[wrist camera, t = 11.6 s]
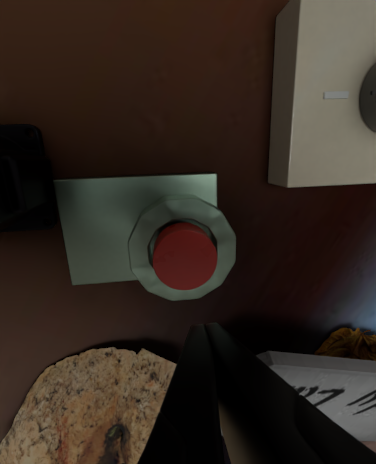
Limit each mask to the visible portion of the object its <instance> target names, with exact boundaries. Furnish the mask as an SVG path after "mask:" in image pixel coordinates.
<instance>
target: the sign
mask: <svg viewBox="0 0 376 464" xmlns="http://www.w3.org/2000/svg"><path fill="white" fill-rule="evenodd" d="M256 356H257V357H258V358H259V359H260V360H262V361H263V362H264V363H265V364H266V365H267V366H269V367H270V368H271V369H272V370H273V371H274V372H276V373H277V374H278V375H279V376H280V377H281V378H283V379H284V380H285V381H286V382H287V383H288V384H290V385H291V386H292V387H293V388H294V389H295V390H297V391H298V392H299V395H303V396H304V397H305V398H306V399H307V400H308V401H310V402H311V403H312V404H313V405H314V406H315V407H317V408H318V409H319V410H320V411H322V412H323V413H324V414H325V415H326V416H328V417H329V418H330V419H331V420H333V421H334V422H335V423H336V424H338V425H339V426H340V427H342V428H343V429H344V430H346V431H347V432H348V433H350V434H351V435H352V436H354V437H355V438H356V439H358V440H359V441H376V361H370V360H360V359H349V358H339V357H328V356H318V355H307V354H297V353H286V352H276V351H267V352H264V353H261V354H258V355H256ZM221 435H222V436H223V433H222V429H221Z"/></svg>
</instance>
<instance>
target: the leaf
mask: <svg viewBox="0 0 376 464" xmlns="http://www.w3.org/2000/svg"><path fill="white" fill-rule="evenodd" d="M367 331H370V330H367ZM367 331H365V332H367ZM365 332H363V333H361V332H360V330H359V328H357V329H356V331H355V332H353V331H352V330H351V329H349V328H341V329H339V330H338V331H335V332H332V333H331V336H330V337H329V338H328V339H326V340H325V341H324V342H323V344H322V345H321V347H320V348H319V349H318V350H317V351H315V352H314V353H315V355H318V356H328V357H339V358H349V359H360V360H370V361H376V335H372V336H368V335H365V334H364V333H365Z"/></svg>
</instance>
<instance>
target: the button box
mask: <svg viewBox="0 0 376 464" xmlns="http://www.w3.org/2000/svg"><path fill="white" fill-rule="evenodd" d="M53 184H54V190H55V195H56V201H57V206H58V212H59V217H60V222H61V228H62V233H63V239H64V244H65V250H66V255H67V260H68V266H69V271H70V277H71V282H72V285H84V284H96V283H109V282H121V281H133V280H139V281H140V283H141V284H142V285H143V286H144V288H145V289H146V290H147V291H148V292H151V293H153V294H156V295H158V296H161V297H163V298H165V299H168V300H170V301H179V300H190V299H199V298H201V297H203V296H204V295H206V294H207V293H209V292H211V291H212V290H214V289H216V288H217V287H219V286H220V285H222V283H223V282H224V280H225V278H226V277H227V275H228V273H229V272H230V270H231V268H232V267H233V265H234V263H235V261H236V235H235V232H234V231H233V229H232V227H231V226H230V224H229V222H228V221H227V219H226V217H225V216H224V214H223V213H222V211H221V210H219V209H218V208H217V173H215V172H191V173H168V174H145V175H123V176H100V177H77V178H62V179H56V180H53ZM176 223H191V224H194V225H197V226H199V227H200V228H202V229H203V230H204V231H205V232H206V233H207V235H208V236H209V238H210V240H211V241H212V243H213V245H214V246H215V249H216V252H217V266H216V269H215V271H214V273H213V275H212V276H211V278H210V279H209V280H208V281H207V282H206V283H204V284H203V285H201V286H200V287H197V288H195V289H191V290H177V289H173V288H170V287H168V286H167V285H165V284H164V283H163V282H161V281H160V279H159V278H158V277H157V275H156V273H155V271H154V268H153V249H154V244H155V241H156V239H157V237H158V235H159V234H160V233H161V232H162V231H163V230H164V229H165V228H167V227H168V226H170V225H173V224H176Z"/></svg>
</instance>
